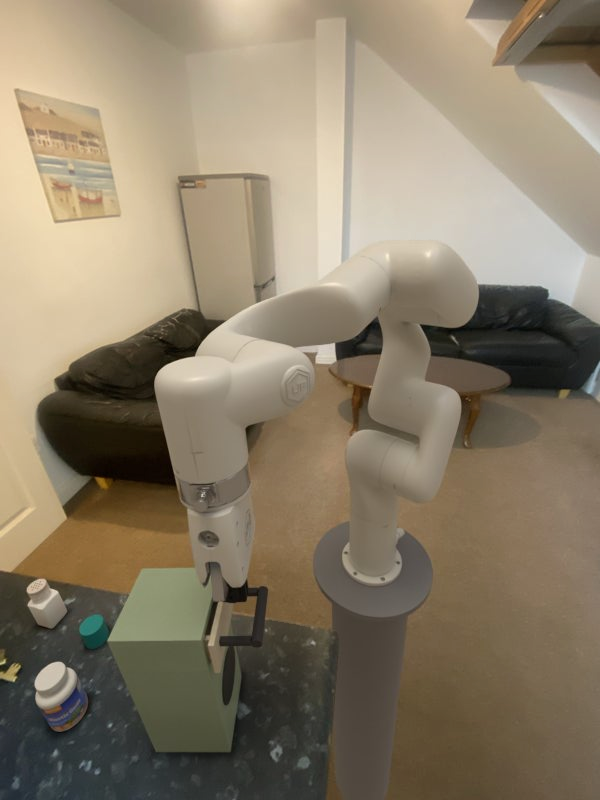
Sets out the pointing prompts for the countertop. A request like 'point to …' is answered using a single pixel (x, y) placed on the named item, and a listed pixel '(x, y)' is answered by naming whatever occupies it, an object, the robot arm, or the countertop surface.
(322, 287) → the robot arm
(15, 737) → the countertop surface
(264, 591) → the drawer
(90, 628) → the pod
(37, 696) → the pill bottle
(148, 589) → the green cabinet
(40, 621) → the salt shaker
